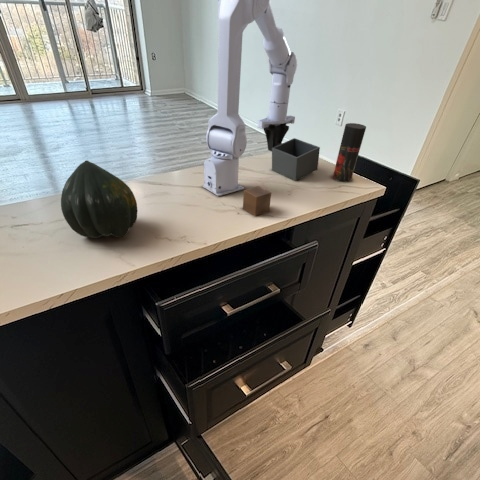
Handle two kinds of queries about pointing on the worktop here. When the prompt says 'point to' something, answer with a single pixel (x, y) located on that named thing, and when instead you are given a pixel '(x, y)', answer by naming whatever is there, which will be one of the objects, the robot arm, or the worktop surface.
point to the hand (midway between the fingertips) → (273, 150)
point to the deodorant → (348, 151)
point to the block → (256, 200)
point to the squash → (98, 202)
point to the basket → (295, 158)
